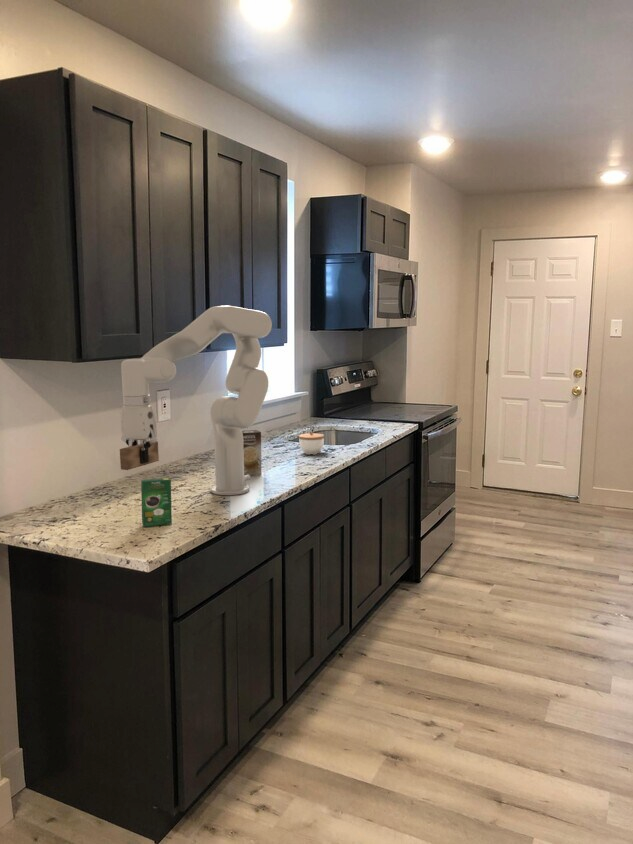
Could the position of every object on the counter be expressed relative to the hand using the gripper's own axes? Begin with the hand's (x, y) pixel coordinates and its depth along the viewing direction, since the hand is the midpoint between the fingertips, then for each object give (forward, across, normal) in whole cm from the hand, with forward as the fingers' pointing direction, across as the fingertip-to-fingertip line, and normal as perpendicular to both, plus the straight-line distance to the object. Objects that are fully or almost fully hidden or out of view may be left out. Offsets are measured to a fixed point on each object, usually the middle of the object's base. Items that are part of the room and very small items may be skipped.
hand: (140, 461), depth 202 cm
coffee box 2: (+16, -4, -54) cm, 56 cm away
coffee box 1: (+15, -14, +10) cm, 23 cm away
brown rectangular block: (+1, 0, 0) cm, 1 cm away
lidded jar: (+16, -8, -99) cm, 100 cm away
